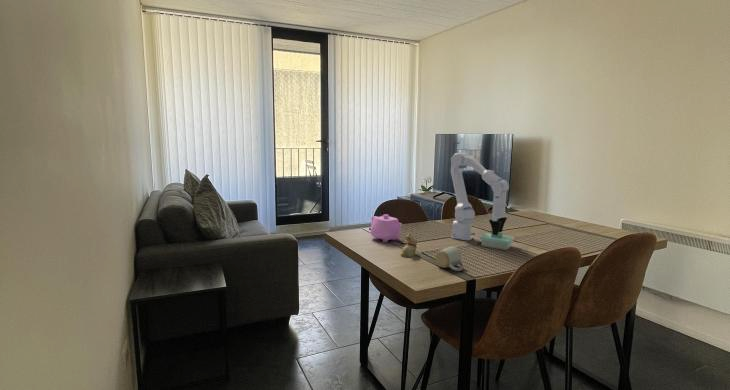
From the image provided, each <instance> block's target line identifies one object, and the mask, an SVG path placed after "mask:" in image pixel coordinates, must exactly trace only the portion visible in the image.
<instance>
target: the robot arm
mask: <svg viewBox="0 0 730 390" xmlns="http://www.w3.org/2000/svg"><path fill="white" fill-rule="evenodd" d="M450 162H451V163H450V175H451V180H452V185H453V189H454V194H455V199H456V205H455V207H454V211H455V212H454V217H455V220H453V221H452V224H451V234H450V235H451V236H450V238H451V239H456V240H462V241H468V242H469V241H470V240H472V239H474V236H472V224H473V223H472V222H473V219H474V218H475V217H476V212H475V210H474V208H473V205H472V204H471V203H470V202H469V200H468V194H467V191H466V185H465V181H464V176H463V172H464V170H465V169H466V168H468V167H471V168H472V169H473V170H475V171H476V172H477V173H478V174H479V175H480V176H481V179H482V180H483V181H484V182H485V183H486V184H488V185H489V186H490V187H491V190H492V191H493V200H492V213H491V216H492V218H491V219H489V220H488V222H489V225H490V227H491V232H492V233H493V235H498V232H502V233H503V229H504V227H505V223H506V221H507V220H508V214H506V205H507V192H508V191H509V189H510V184H509V182H508V181H507V180H506V179H502V177H500V176H498V175H497V174H496V172H495V171H494V170H491V169H486V167H484V166H483V165H482V164H481V163H480V162H479V161H478V160H477V159H476V158H475V157H474V156H473V155H472V154H471V153H470V152H465V153H461V152H456V153H453V155H452V157H451V158H450Z"/></svg>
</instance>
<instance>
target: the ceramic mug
mask: <svg viewBox="0 0 730 390" xmlns="http://www.w3.org/2000/svg"><path fill="white" fill-rule="evenodd" d="M462 258H463V257H462V253H461V252H460V250H459V248H458V247H456V246H453V245H452V246H449V247H446V248H444V249H443V248H442V249H440V250H439V251H437V252H436V254H435V262H436V264H437V265H438V267H440V268H442V269H446V268H447V269H448V268H449V269H451V270H453V271H456V272H460V271H462V270H463V268H464V264H463V262H462ZM458 265H459V266H460V267H456V266H458Z"/></svg>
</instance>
